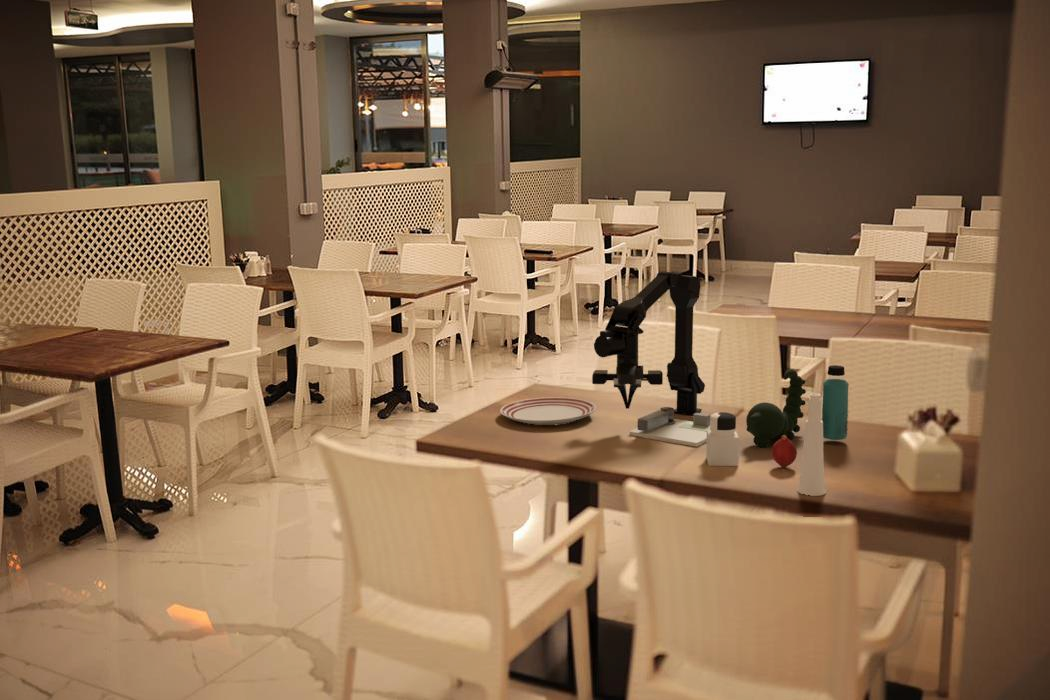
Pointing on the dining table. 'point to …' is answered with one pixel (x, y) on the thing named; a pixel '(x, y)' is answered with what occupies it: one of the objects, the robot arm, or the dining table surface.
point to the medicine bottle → (722, 440)
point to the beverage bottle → (835, 405)
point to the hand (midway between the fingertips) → (627, 408)
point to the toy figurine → (777, 414)
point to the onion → (784, 452)
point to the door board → (680, 431)
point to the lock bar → (656, 419)
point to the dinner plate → (548, 410)
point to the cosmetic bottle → (813, 451)
